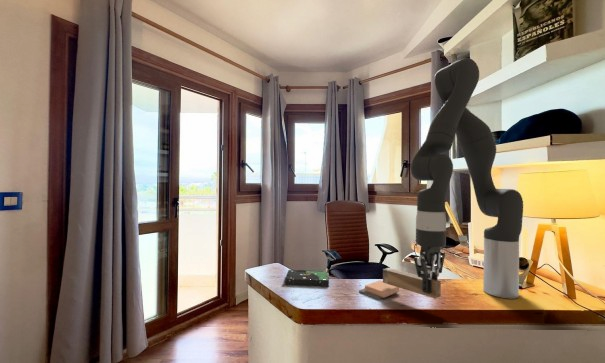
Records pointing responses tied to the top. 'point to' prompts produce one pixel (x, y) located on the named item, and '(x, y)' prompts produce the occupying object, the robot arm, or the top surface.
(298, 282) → the disk drive
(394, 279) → the block
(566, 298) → the top surface
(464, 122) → the robot arm
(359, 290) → the mat
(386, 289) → the tile
